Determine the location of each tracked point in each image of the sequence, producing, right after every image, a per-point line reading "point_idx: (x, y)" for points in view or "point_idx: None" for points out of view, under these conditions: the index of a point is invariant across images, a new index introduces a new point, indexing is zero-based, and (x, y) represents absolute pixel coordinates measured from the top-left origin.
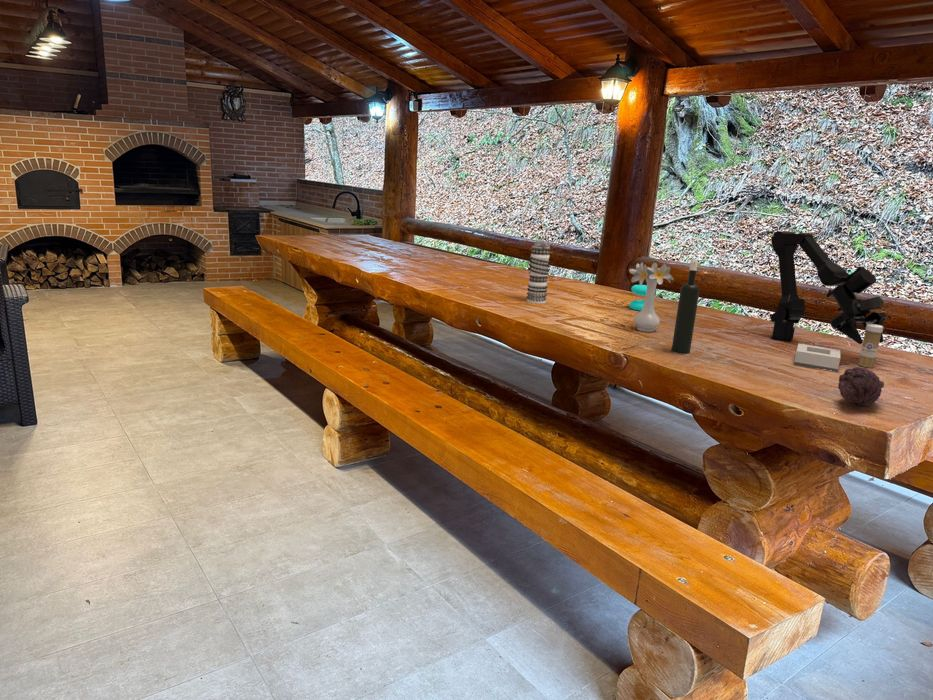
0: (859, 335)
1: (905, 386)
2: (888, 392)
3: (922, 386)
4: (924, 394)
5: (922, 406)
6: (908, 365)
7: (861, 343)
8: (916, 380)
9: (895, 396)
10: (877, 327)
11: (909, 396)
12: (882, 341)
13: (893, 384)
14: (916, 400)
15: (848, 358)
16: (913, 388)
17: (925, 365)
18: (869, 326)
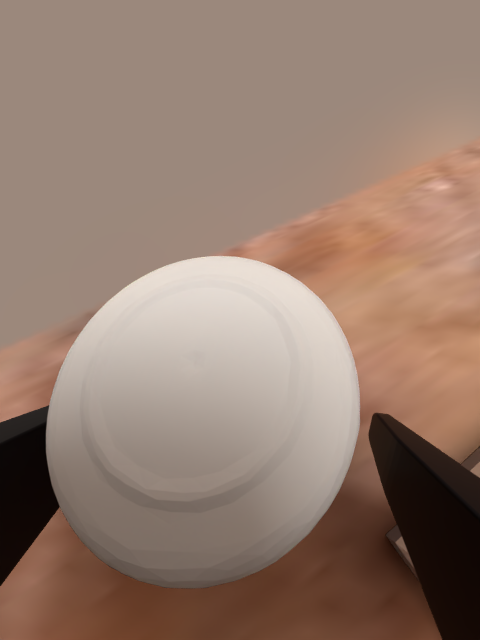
0: (439, 468)
1: (349, 233)
2: (466, 212)
3: (293, 226)
4: (359, 193)
5: (453, 154)
6: (56, 368)
7: (373, 423)
8: (248, 258)
9: (471, 193)
10: (289, 276)
11: (423, 189)
12: None
13: (373, 249)
14: (430, 174)
15: (182, 597)
16: (341, 220)
17: (3, 348)
18: (358, 395)
